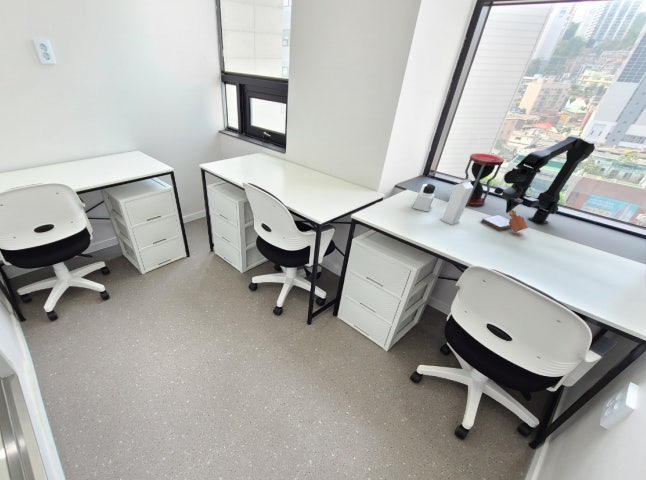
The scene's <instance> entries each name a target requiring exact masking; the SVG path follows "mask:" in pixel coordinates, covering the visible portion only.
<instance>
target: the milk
mask: <svg viewBox="0 0 646 480" xmlns="http://www.w3.org/2000/svg"><path fill="white" fill-rule="evenodd" d="M462 181H463V182H462ZM462 181H461V182H462V183H461V182H460V183H461V184H460V183H457V184H454V186H453V189H452V192H451V193H450V197H449V199H448V202H447V204H446V207H445V209H444V212H443V214H442V217H441V221H442V222H445V223H447V224H449V225H454V224H457V223H458V224H459V222H460V219H461V218H462V215H463V214H464V213H463V212H464V210H465V208H466V207H467V205H466V204H467V201H468V199H469V197H470V194H471V192H472V190H473V186H472V184H471V183H470V182H471V178H468V179H467V180H464V179H463V180H462Z"/></svg>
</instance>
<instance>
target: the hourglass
mask: <svg viewBox="0 0 646 480" xmlns="http://www.w3.org/2000/svg"><path fill="white" fill-rule="evenodd" d="M472 162H473V163H472ZM504 162H505V159H504V158H502V157H500V156H498V155H494V154H490V153H472V154H470V156H469V160H468V163H467V165H466V167H465V170H464V174H465V178H464V179H463V180H467V179H469V173H468V171H469V168H470V167H471V170H470V171H471V174H472V176H473V178H474V180H472V181H470V183H471V184H472V186H473V190H472V192H471V194H470V197H469V199H468V201H467V204H466V206H468V207H482V206H483V205H485V203H486V199H487V197H488V195H489V192H490V190H491V186H490V183H491V181H493V180H494V179H495V178H497V176H498V174H499V171H500V169H501V167H502V165H503V164H504ZM471 163H472V165H471ZM496 166H497V168H496ZM495 168H496V170H495ZM494 170H495V172H494ZM493 172H494V174H493V175H492V176H491V178H489V179H487V181H486V184H485V185H486V192H485V194H484V187H483V184H482V183H481V181H482V180H483V179H485V178H487V177H488V176H490V175H491V174H492V173H493ZM463 180H462V181H461V182H460V183H459V184H461V183H462V182H463ZM483 194H484V196H483ZM482 196H483V197H482Z"/></svg>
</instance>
